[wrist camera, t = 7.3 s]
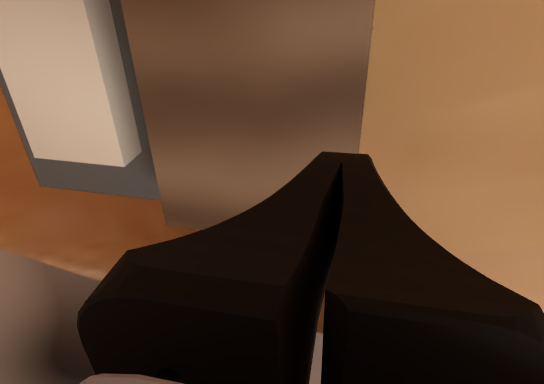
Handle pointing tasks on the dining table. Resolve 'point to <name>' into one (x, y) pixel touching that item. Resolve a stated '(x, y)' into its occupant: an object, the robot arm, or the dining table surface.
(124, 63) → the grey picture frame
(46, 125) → the beige flat block
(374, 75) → the dining table surface
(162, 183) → the deck
